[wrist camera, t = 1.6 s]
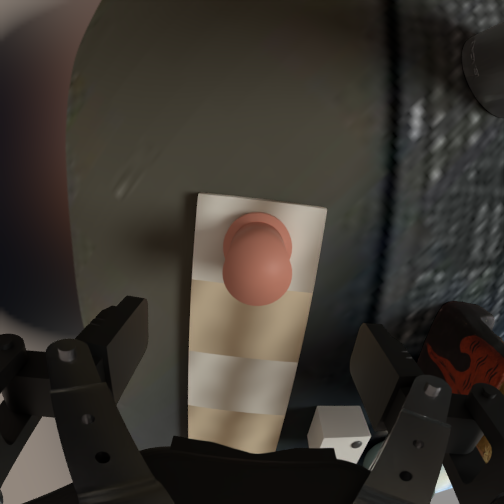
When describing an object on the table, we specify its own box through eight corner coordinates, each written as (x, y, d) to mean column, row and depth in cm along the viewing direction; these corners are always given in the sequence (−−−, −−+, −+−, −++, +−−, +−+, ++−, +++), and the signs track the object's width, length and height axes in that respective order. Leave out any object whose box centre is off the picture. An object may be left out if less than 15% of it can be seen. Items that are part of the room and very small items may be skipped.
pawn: (295, 216, 24) (309, 235, 18) (285, 279, 26) (294, 319, 19) (227, 208, 24) (216, 224, 18) (221, 272, 26) (209, 309, 19)
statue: (453, 379, 30) (532, 497, 11) (402, 377, 30) (477, 523, 11) (495, 287, 27) (618, 382, 8) (445, 275, 27) (589, 394, 7)
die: (359, 405, 31) (371, 436, 26) (347, 434, 32) (356, 465, 27) (317, 405, 31) (324, 438, 26) (307, 434, 32) (312, 467, 27)
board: (324, 207, 25) (327, 208, 24) (274, 447, 33) (274, 454, 31) (200, 192, 25) (198, 193, 24) (190, 438, 33) (188, 445, 31)
